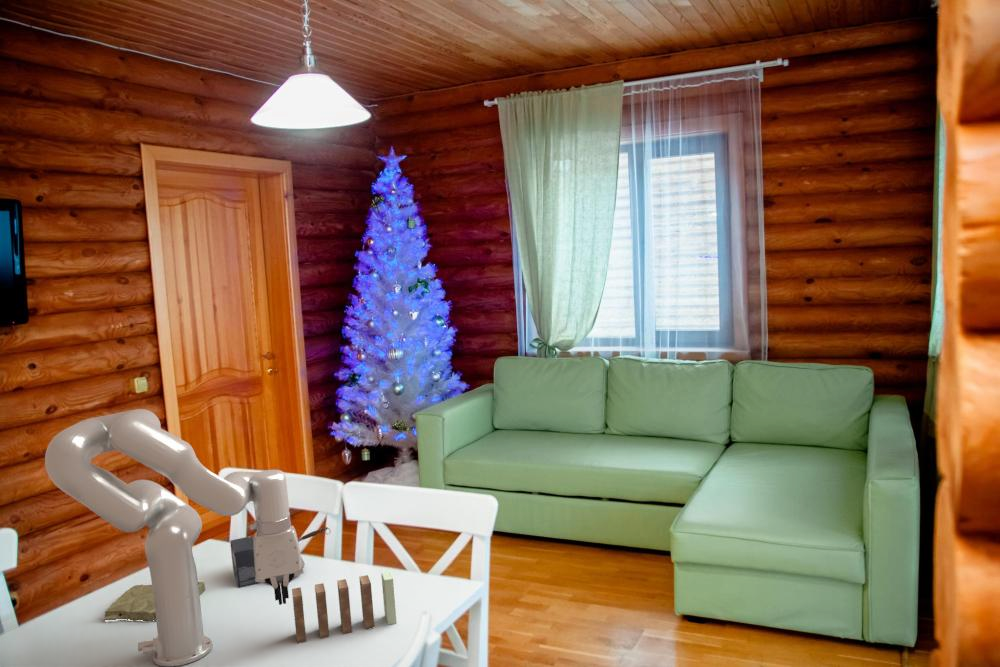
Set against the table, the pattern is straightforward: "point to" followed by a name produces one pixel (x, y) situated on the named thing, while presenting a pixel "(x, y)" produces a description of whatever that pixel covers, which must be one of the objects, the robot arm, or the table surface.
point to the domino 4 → (366, 601)
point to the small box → (243, 561)
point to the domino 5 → (388, 597)
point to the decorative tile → (137, 604)
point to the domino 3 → (344, 606)
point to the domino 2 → (322, 610)
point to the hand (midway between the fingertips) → (282, 601)
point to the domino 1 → (299, 615)
